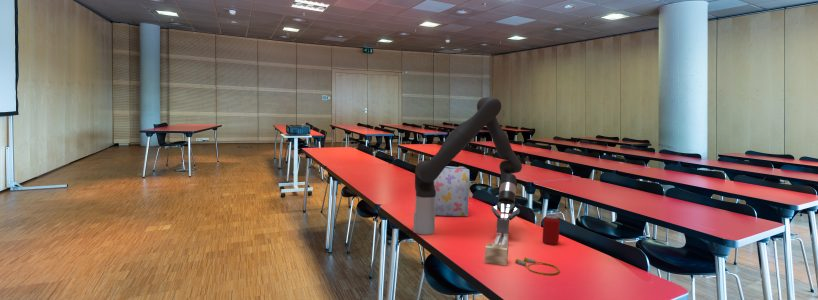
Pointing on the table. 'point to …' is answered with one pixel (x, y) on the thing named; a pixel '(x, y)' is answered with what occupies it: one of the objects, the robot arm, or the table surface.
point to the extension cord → (534, 264)
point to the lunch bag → (452, 192)
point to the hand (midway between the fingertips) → (503, 226)
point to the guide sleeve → (505, 239)
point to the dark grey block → (502, 228)
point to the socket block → (496, 254)
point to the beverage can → (551, 229)
